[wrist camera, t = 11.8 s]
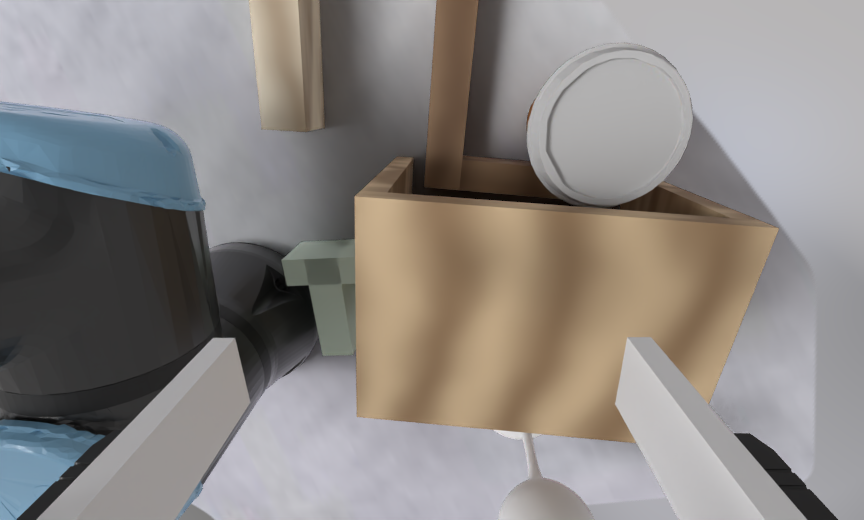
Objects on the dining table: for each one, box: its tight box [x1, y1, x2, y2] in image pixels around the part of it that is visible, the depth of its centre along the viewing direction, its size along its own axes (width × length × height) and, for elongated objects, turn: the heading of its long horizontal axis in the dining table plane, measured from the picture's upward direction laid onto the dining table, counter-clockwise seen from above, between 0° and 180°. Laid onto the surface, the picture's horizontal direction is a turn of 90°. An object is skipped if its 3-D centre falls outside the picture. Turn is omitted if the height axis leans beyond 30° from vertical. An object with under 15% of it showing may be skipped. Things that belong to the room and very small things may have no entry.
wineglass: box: [494, 430, 594, 520], centre depth 36 cm, size 9×9×21 cm
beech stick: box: [249, 0, 325, 132], centre depth 32 cm, size 4×12×5 cm, turn 177°
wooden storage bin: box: [354, 156, 779, 443], centre depth 31 cm, size 22×15×16 cm
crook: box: [424, 0, 560, 199], centre depth 28 cm, size 16×22×11 cm
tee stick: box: [281, 239, 356, 356], centre depth 39 cm, size 7×10×5 cm
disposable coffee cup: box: [527, 43, 693, 208], centre depth 29 cm, size 10×10×12 cm
